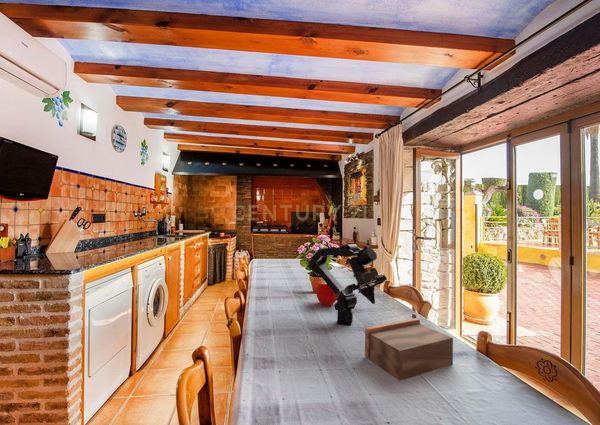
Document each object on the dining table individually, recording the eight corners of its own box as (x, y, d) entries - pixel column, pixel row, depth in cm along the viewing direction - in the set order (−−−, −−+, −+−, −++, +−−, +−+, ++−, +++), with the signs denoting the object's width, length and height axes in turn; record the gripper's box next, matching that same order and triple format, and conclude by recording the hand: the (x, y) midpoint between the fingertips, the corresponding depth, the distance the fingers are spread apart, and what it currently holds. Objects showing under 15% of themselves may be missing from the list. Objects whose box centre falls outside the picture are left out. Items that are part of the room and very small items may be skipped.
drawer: (364, 356, 101) (365, 327, 101) (416, 343, 112) (416, 318, 112) (393, 376, 88) (394, 344, 88) (449, 360, 99) (449, 331, 99)
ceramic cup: (327, 311, 150) (327, 292, 151) (311, 302, 165) (311, 285, 166) (347, 307, 156) (347, 289, 157) (330, 299, 171) (330, 283, 172)
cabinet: (369, 359, 100) (369, 333, 100) (419, 347, 110) (419, 323, 110) (399, 380, 87) (399, 350, 87) (452, 364, 97) (452, 337, 97)
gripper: (344, 269, 119) (360, 306, 112) (383, 257, 124) (400, 292, 117) (338, 277, 129) (352, 312, 122) (374, 266, 134) (389, 298, 127)
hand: (373, 303), depth 122 cm, fingers closed
